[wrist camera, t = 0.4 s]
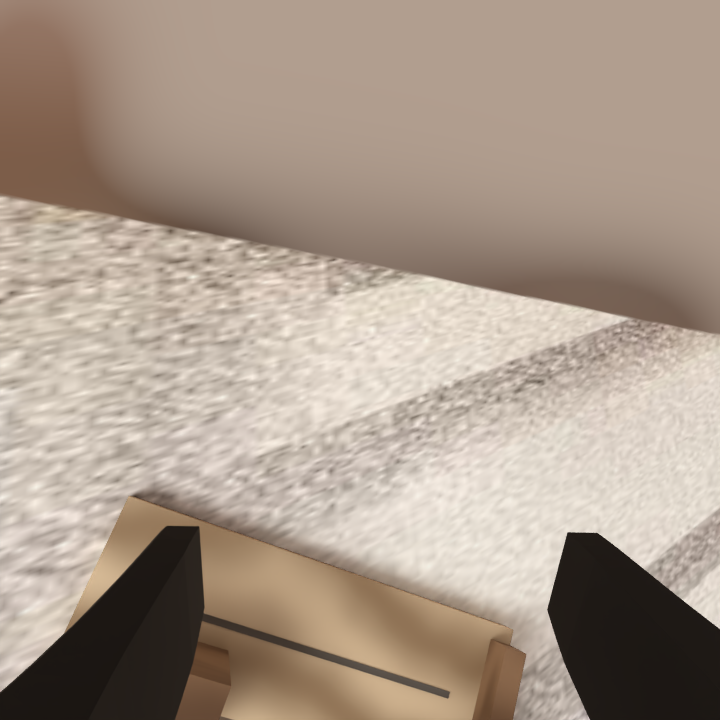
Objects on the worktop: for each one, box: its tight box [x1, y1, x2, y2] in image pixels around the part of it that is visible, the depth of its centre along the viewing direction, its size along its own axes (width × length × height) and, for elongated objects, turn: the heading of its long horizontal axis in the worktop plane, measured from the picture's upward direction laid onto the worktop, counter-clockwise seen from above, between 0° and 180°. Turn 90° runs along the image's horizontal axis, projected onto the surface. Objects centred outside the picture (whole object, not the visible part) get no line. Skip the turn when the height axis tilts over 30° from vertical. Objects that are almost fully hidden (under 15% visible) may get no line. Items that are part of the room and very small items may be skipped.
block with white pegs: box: [175, 641, 233, 720], centre depth 27 cm, size 4×10×6 cm, turn 70°
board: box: [65, 496, 526, 720], centre depth 31 cm, size 15×27×3 cm, turn 70°
